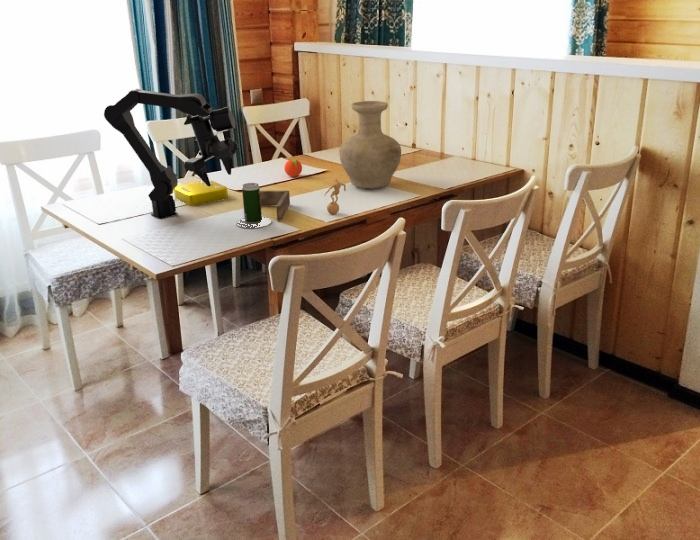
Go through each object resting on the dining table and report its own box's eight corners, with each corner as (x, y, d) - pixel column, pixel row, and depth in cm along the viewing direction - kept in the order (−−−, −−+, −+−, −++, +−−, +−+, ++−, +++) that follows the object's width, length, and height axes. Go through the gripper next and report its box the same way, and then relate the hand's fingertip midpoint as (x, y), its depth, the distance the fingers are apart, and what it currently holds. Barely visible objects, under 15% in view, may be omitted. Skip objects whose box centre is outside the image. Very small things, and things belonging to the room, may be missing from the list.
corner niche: (238, 221, 219) (237, 206, 217) (250, 204, 236) (249, 190, 234) (280, 221, 218) (279, 206, 216) (290, 204, 234) (289, 190, 233)
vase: (391, 196, 240) (391, 109, 229) (331, 192, 247) (328, 107, 236) (407, 180, 260) (408, 99, 248) (351, 176, 267) (349, 97, 255)
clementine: (305, 178, 266) (304, 160, 264) (288, 180, 264) (287, 162, 261) (299, 173, 273) (298, 155, 270) (282, 175, 271) (281, 157, 268)
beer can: (249, 225, 214) (246, 188, 209) (242, 221, 218) (238, 184, 213) (264, 222, 216) (262, 185, 212) (257, 218, 220) (254, 181, 216)
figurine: (339, 209, 228) (338, 174, 223) (351, 214, 223) (350, 178, 219) (319, 215, 223) (317, 179, 218) (330, 219, 219) (329, 182, 214)
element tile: (173, 198, 246) (171, 185, 245) (210, 190, 255) (209, 177, 253) (191, 207, 235) (189, 194, 234) (230, 199, 244) (229, 186, 242)
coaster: (250, 231, 210) (250, 230, 210) (229, 223, 217) (229, 222, 217) (278, 222, 217) (278, 221, 217) (257, 215, 224) (257, 214, 224)
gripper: (198, 146, 205) (214, 194, 212) (242, 124, 217) (256, 170, 224) (175, 145, 212) (192, 191, 219) (219, 123, 224) (233, 168, 231)
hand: (219, 180), depth 223 cm, fingers open, 9 cm apart
